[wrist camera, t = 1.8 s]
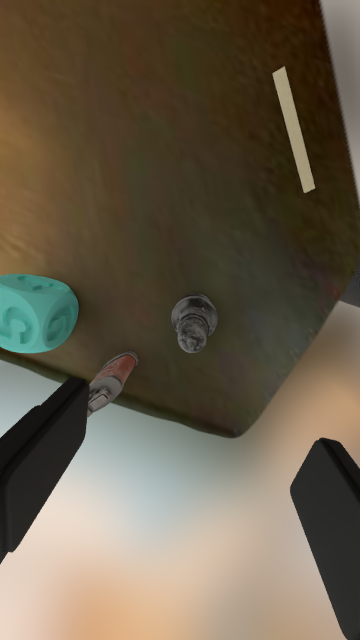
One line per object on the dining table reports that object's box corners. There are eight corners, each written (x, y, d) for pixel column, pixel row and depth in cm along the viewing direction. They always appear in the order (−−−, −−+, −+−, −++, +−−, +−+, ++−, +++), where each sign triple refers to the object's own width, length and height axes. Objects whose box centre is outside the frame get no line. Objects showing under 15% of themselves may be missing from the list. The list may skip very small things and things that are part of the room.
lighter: (107, 386, 36) (73, 435, 26) (93, 372, 35) (53, 416, 26) (143, 362, 34) (120, 405, 24) (129, 346, 33) (99, 384, 23)
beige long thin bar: (314, 188, 24) (315, 188, 24) (304, 193, 25) (304, 193, 25) (284, 67, 22) (284, 66, 21) (272, 74, 22) (272, 73, 22)
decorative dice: (30, 271, 31) (-26, 277, 23) (83, 288, 31) (44, 299, 23) (27, 320, 33) (-25, 340, 26) (75, 336, 33) (38, 361, 26)
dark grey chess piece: (186, 337, 31) (177, 384, 20) (167, 302, 30) (146, 332, 19) (223, 320, 30) (235, 361, 19) (204, 283, 29) (206, 303, 17)
